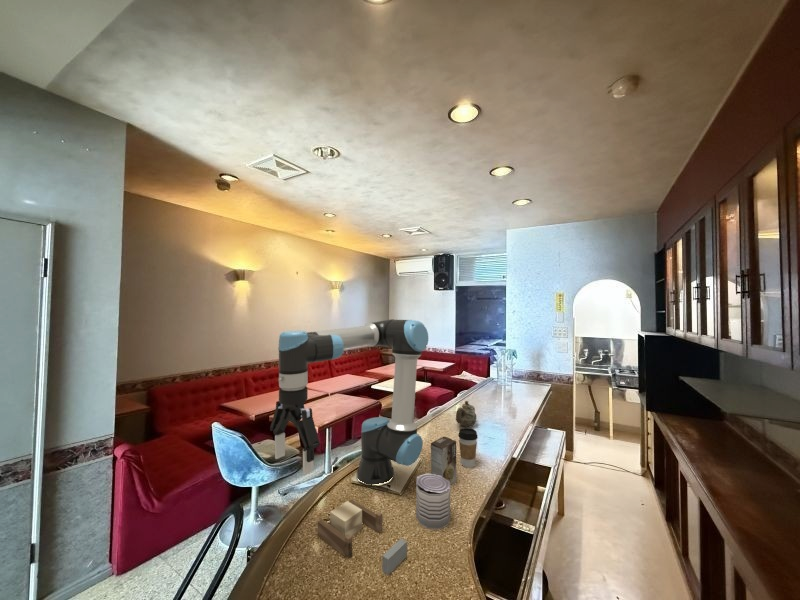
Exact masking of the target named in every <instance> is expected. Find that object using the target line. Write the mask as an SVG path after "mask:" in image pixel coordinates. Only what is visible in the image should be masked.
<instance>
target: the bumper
mask: <svg viewBox="0 0 800 600" xmlns="http://www.w3.org/2000/svg"><path fill="white" fill-rule="evenodd" d="M381 557H382V562H381V563H382V564H381V565H382V572H383V573H384V574H386V575H387V576H389V575H390V574H391V573H392V572H393V571H394V570H395V569H397V567H398V566H399V565H400V564H401V563H402V562H403V560H404V559H406V558H407V557H408V541H407V540H405V539H404V538H402V537H401V538H399V540H398V541H396V543H394V544H393V545H392V546H391V547H390V548H389V549H388V550H386V552H384V553H383V554H382V555H381Z"/></svg>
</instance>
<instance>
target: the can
mask: <svg viewBox="0 0 800 600" xmlns="http://www.w3.org/2000/svg"><path fill="white" fill-rule="evenodd" d="M415 485H416V487H415V491H416V492H415V496H416V497H415V502H416V503H415V505H416V506H415V518H416V520H417V521H418V523H419V525H420V526H421V527H424V528H426V529H427V530H442V529H443V528H445V527H447V526H449V523H450V520H451V485H450V481H448V480H446V479H445V478H443V477H442V476H440V475H435V474H431V473H423V474H420V475H418V476H416V483H415Z"/></svg>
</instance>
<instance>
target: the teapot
mask: <svg viewBox="0 0 800 600" xmlns="http://www.w3.org/2000/svg"><path fill="white" fill-rule="evenodd" d="M455 420H456V423H457V424H458V425H460V426H462V427H464V428H472V427H473V426H474V425H475V423H477V414H476V409H475V406H474V405H471V404H470V403H469V400H465V401H464V404H462V405H461V406H460V407H458V408H457V410H456V413H455Z"/></svg>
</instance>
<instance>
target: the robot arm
mask: <svg viewBox="0 0 800 600" xmlns="http://www.w3.org/2000/svg"><path fill="white" fill-rule="evenodd" d="M278 337H279V338H278V348H277V350H278V378H277V379H278V380H277V381H278V386H279V389H278V401H276V402H275V410H274V414H273V415H272V416H273V417H272V420H271V424H270V426H269V430H270V431H271V432H272V431H273V435H274V459H275V460H278V459H280V458H283V457H285V456H286V433H285V431H286V427H287V426H288V424H289V422H291V423H292V424H293V426H294V427H295V428H296V429H297V432H298V434H299V437H300V439H301V442H302V444H303V446H304V448H302V475H303V476H306V475H308V474H310V473H312V472H314V460H315V449H316V448H318V447H320V445H321V443H320V440H319V436H318V432H317V429H316V424H315V421H314V418H313V409H312V408H311V407H309V408H305V403H306V402H307V400H308V394H309V393H308V387H307V386H308V384H309V382H308V381H309V379H308V377H309V375H308V374H309V373H308V371H309V370H308V365H309V364H312V363H317V362H318V363H319V362H325V361H332V360H336V359H339V358H341V356H343V353H344V351H345V349H351V348H357V347H363V346H368V347H383V348H384V347H386V348H391V354H392V355H393V356H394V358H395V361H394V375H393V392H392V394H393V395H392V408H391V420H390V418H388V417H385V416H377V417H376V416H375V417H370V418H367V419H365V420H364V421H363V422H362V424H361V431H360V434H361V437H360V438H361V440H360V441H361V443H360V444H361V446H360V449H361V450H360V451H361V455H360V456H361V458H360V461H359V465H358V468H357V471H356V479H357V478H358V479H359V480H360V481H362V482H364V483H366V484H371V485H368V486H367V487H373V486H372V484H379V483H384V482H387V481H389V480H390V479H391V478H392V477H393V475H394V476H395V469H394V467H393V464H392V462H394V463H396V464H397V465H402V466H405V467H409V466H412V465H413V464H414V463H416V461H417V460H418V458H419V457H420V455H421V452H422V450H423V445H424V444H423V442H424V441H423V438H422V436H421V435H420V434H418V425H417V424H416V423H415V422H414V419H415V418H414V417H415V404H416V403H415V400H416V388H417V387H416V385H417V368H418V360H419V358H420V357H421V356H422V352H423V351H424V350H425V349H427V346H428V345H429V333H428V330H427V327H426V326H425V324H424V323H423V322H421V321H419V320H414V319H386V320H385V319H383V320H380V321H375V322H368V323H366V324H365V325H363V326H353V327H344V328H333V329H326V330H318V331H309V332H307V331H305V330H287V331H283V332H281V333H280V334H279V336H278ZM358 479H357V480H358Z"/></svg>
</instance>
